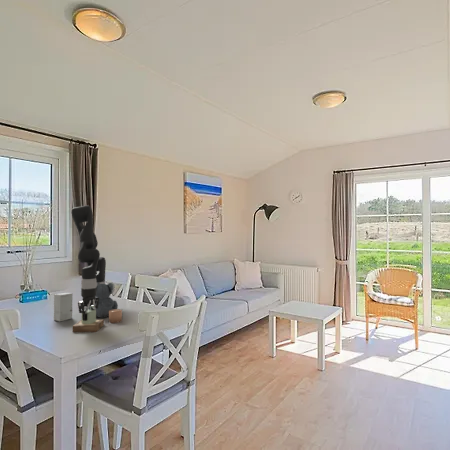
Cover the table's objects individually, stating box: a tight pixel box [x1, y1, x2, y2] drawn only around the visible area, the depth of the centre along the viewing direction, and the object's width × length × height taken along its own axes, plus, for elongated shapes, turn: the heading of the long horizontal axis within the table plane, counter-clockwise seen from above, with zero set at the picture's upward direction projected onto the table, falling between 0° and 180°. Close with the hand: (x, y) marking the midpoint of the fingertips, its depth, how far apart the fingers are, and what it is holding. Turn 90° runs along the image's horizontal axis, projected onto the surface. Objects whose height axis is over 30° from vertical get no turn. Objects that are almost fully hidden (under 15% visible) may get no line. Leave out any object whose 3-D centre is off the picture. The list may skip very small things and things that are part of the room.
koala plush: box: [89, 281, 119, 319], centre depth 208 cm, size 17×18×20 cm
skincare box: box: [53, 292, 73, 322], centre depth 197 cm, size 8×6×15 cm
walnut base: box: [72, 318, 105, 333], centre depth 179 cm, size 12×12×3 cm
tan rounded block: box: [108, 308, 123, 324], centre depth 193 cm, size 7×7×6 cm
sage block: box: [81, 309, 97, 324], centre depth 179 cm, size 5×5×6 cm
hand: (88, 319), depth 179 cm, fingers open, 5 cm apart
